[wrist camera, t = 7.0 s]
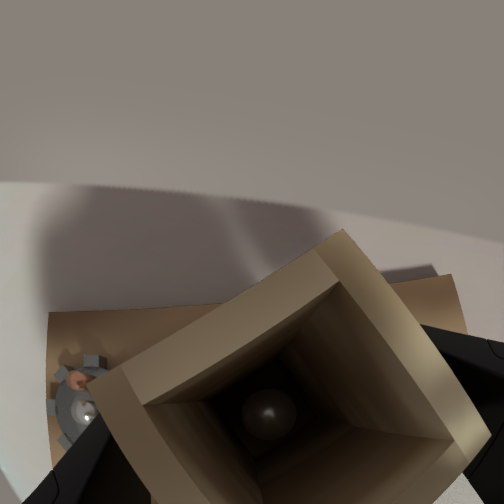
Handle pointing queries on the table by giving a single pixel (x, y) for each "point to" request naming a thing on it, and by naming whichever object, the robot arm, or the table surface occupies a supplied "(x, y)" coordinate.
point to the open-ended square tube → (308, 388)
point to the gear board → (175, 318)
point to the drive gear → (75, 398)
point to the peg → (269, 414)
